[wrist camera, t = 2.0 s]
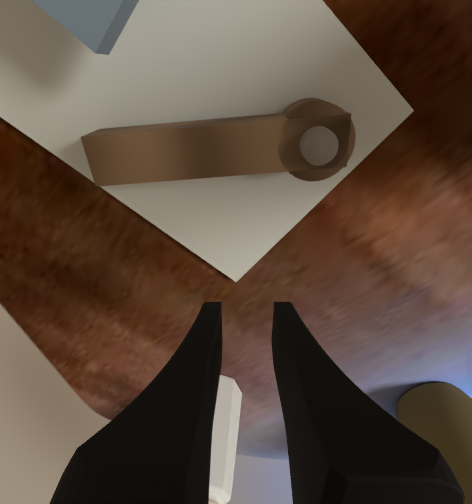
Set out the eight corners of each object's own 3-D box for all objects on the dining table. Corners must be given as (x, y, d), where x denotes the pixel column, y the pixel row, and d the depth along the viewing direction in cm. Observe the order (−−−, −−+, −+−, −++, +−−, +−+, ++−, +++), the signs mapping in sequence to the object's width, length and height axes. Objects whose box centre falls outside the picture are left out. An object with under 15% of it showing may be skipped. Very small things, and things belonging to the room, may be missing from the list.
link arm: (343, 94, 16) (365, 100, 13) (338, 165, 18) (356, 183, 15) (96, 116, 17) (68, 126, 14) (114, 183, 18) (92, 203, 16)
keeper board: (408, 109, 17) (475, 124, 12) (236, 277, 23) (235, 333, 18) (66, -301, 11) (-70, -593, 6) (-59, 69, 17) (-182, 68, 12)
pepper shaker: (170, 390, 29) (137, 547, 20) (211, 362, 27) (197, 520, 18) (212, 416, 31) (201, 571, 21) (254, 392, 29) (262, 549, 20)
